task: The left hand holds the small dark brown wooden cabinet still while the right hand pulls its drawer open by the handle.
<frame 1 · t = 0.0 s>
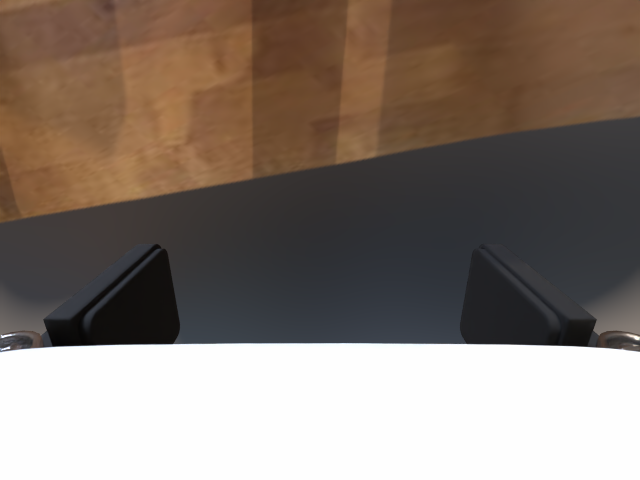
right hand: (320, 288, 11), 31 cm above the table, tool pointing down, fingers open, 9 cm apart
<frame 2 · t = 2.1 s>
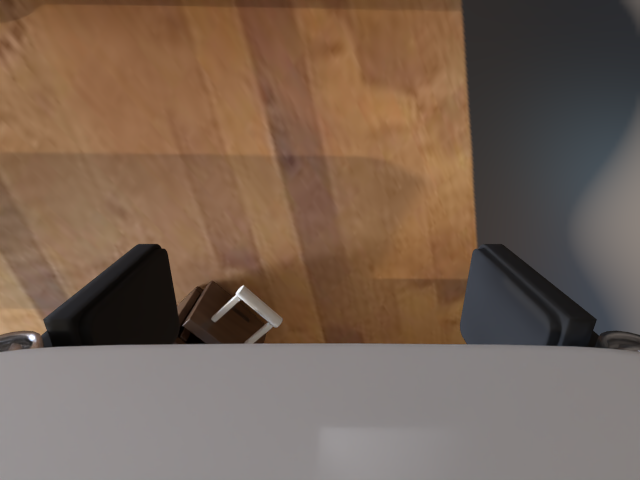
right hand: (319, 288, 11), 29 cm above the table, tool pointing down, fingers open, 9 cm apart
drawer: (201, 351, 41), point 5 cm above the table, slide at 1.3 cm
cabinet: (185, 350, 47), on the table
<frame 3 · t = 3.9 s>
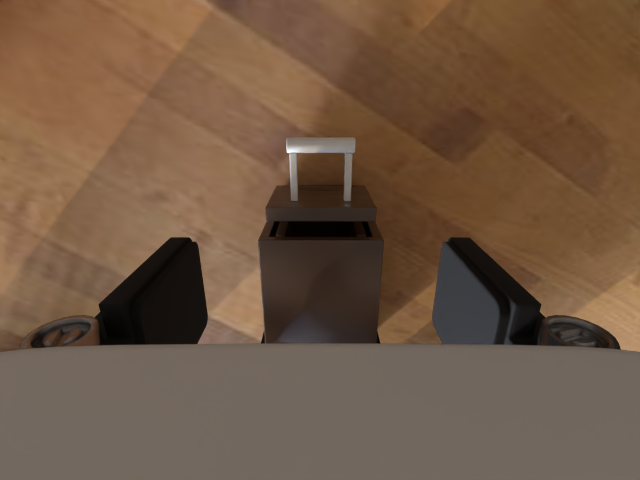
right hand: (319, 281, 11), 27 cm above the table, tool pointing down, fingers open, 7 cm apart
drawer: (320, 251, 35), point 5 cm above the table, slide at 1.3 cm
cabinet: (320, 279, 41), on the table, touching left hand
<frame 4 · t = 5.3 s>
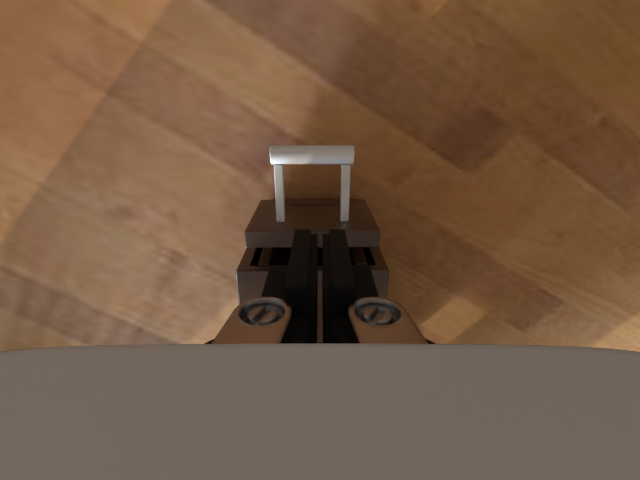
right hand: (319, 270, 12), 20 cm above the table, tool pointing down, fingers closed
drawer: (313, 278, 29), point 5 cm above the table, slide at 1.3 cm
cabinet: (313, 305, 36), on the table, touching left hand
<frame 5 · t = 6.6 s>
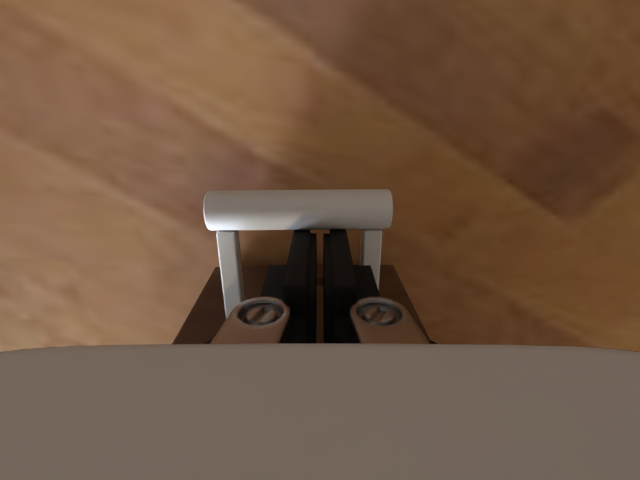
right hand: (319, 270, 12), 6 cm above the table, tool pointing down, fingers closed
drawer: (305, 412, 16), point 5 cm above the table, slide at 1.4 cm
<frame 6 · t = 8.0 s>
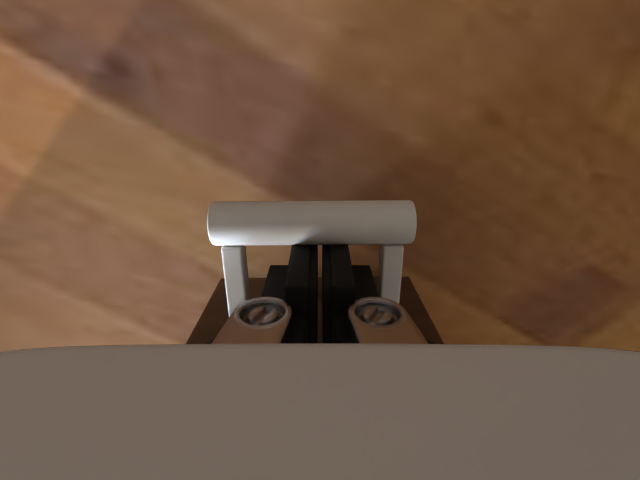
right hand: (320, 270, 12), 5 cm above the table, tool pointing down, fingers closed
drawer: (316, 434, 15), point 5 cm above the table, slide at 8.8 cm, touching right hand
when the left hand's fingers open (5 cm above the table, at t = 9.7 s): cabinet stays where it is, on the table.
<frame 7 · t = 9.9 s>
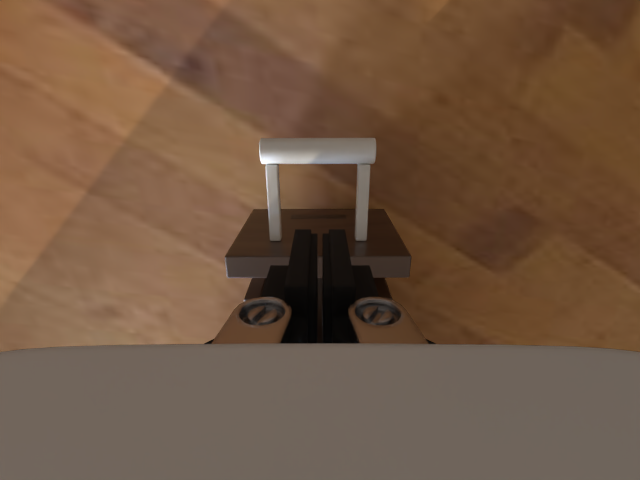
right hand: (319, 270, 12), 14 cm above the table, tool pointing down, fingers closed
drawer: (318, 310, 23), point 5 cm above the table, slide at 8.8 cm
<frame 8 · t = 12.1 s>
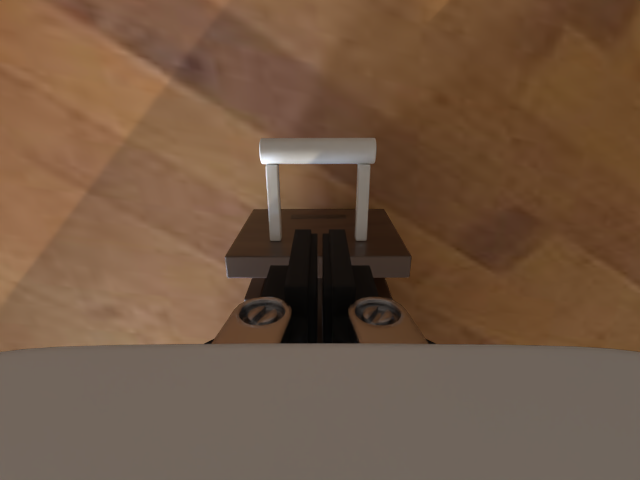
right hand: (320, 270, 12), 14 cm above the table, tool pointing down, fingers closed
drawer: (318, 310, 23), point 5 cm above the table, slide at 8.8 cm
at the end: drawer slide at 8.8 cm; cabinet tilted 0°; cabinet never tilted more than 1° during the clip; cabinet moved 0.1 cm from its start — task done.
